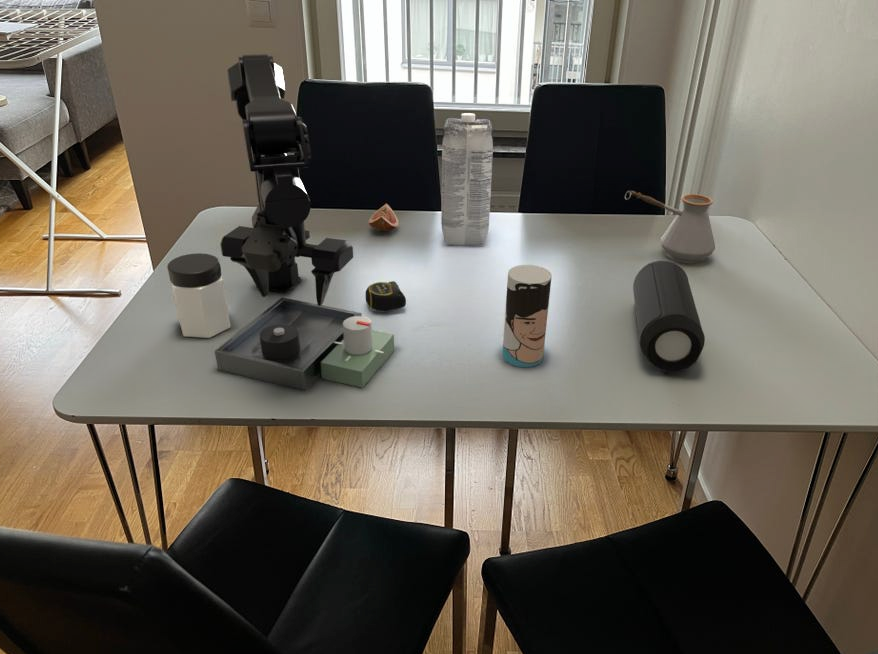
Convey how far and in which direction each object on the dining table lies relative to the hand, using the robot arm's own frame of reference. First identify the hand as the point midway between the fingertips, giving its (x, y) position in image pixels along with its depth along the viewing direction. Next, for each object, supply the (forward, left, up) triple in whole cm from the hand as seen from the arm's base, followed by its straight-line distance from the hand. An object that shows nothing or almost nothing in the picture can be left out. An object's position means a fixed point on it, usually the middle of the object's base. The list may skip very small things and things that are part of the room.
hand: (292, 300), depth 108 cm
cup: (+33, +15, -11) cm, 38 cm away
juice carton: (+8, +58, -11) cm, 59 cm away
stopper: (-3, -1, -11) cm, 11 cm away
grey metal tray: (-3, +3, -11) cm, 12 cm away
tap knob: (+9, +3, -8) cm, 13 cm away
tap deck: (+9, +3, -11) cm, 15 cm away
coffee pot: (+51, +66, -11) cm, 84 cm away
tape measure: (+5, +23, -11) cm, 26 cm away
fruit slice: (-11, +56, -11) cm, 58 cm away
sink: (-3, +3, -11) cm, 12 cm away
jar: (-21, +4, -11) cm, 24 cm away
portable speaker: (+54, +30, -11) cm, 63 cm away
